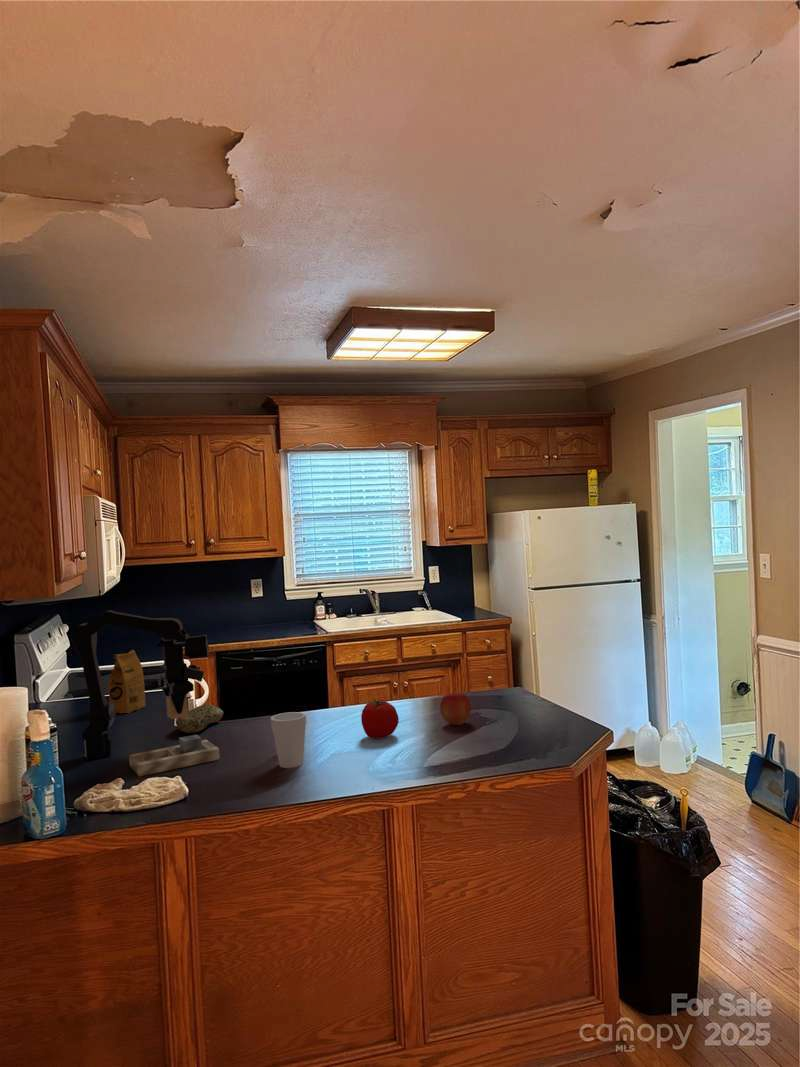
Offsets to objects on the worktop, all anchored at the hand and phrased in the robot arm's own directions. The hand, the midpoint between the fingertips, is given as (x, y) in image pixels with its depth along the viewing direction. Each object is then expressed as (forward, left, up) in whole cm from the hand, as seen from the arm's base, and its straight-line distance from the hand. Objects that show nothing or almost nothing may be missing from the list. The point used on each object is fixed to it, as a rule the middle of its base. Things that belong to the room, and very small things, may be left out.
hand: (177, 712), depth 229 cm
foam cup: (+20, -39, -11) cm, 45 cm away
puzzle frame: (-5, -14, -11) cm, 18 cm away
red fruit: (+51, -33, -11) cm, 62 cm away
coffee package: (-2, +68, -11) cm, 69 cm away
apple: (+76, -37, -11) cm, 85 cm away
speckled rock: (+11, +20, -11) cm, 25 cm away
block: (0, 0, -1) cm, 1 cm away
